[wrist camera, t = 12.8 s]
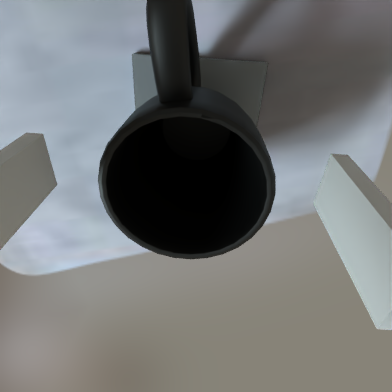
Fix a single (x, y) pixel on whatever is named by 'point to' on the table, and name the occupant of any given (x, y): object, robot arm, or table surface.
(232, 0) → the table surface
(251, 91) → the coaster
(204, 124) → the mug
